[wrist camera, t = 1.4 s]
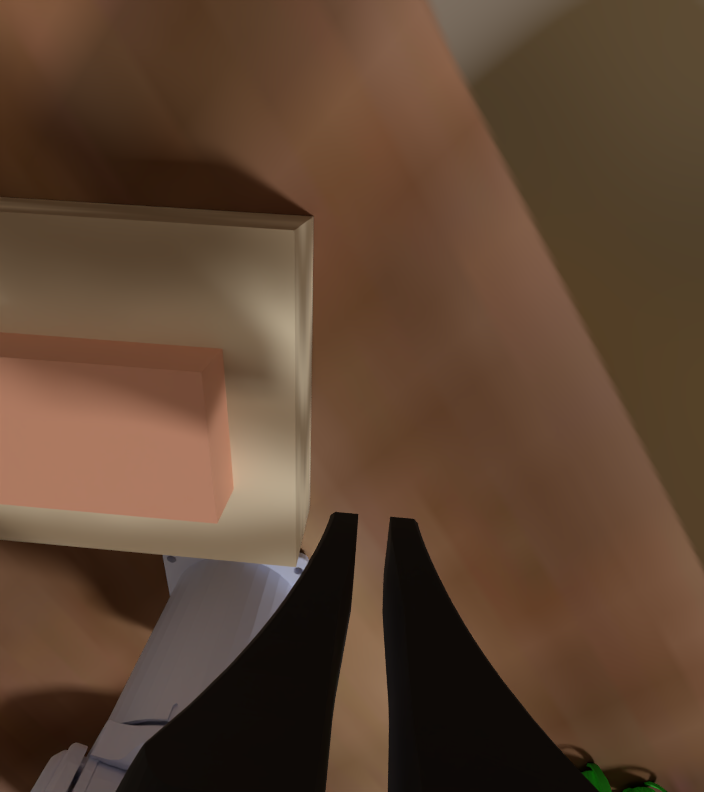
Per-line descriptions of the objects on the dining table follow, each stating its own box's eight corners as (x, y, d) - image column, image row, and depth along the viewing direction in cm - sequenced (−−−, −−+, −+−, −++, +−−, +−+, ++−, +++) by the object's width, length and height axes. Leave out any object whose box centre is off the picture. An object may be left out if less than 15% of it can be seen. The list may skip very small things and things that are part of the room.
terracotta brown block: (233, 489, 19) (217, 523, 17) (16, 470, 19) (-23, 502, 17) (222, 348, 16) (201, 372, 14) (-31, 329, 16) (-83, 350, 14)
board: (309, 506, 24) (296, 567, 20) (45, 483, 24) (-13, 538, 21) (313, 216, 18) (294, 230, 14) (-44, 193, 18) (-150, 202, 15)
